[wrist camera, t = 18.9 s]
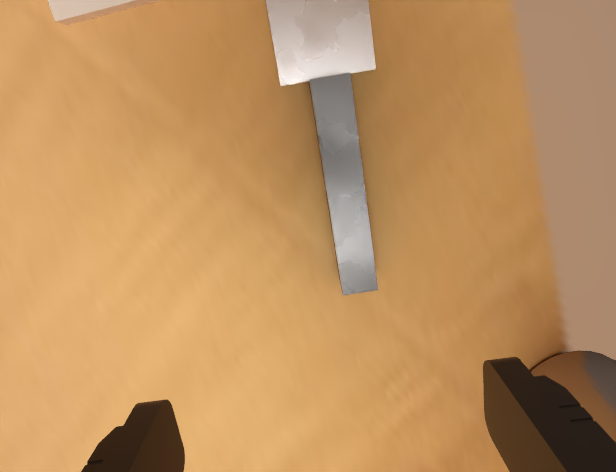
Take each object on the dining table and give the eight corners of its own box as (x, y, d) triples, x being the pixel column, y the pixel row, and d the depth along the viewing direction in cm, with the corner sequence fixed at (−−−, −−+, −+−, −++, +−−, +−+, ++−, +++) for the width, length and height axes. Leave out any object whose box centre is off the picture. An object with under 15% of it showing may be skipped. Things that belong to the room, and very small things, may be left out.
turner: (257, -54, 26) (251, -73, 23) (356, -73, 25) (363, -95, 23) (315, 281, 32) (316, 299, 29) (395, 269, 32) (404, 285, 29)
